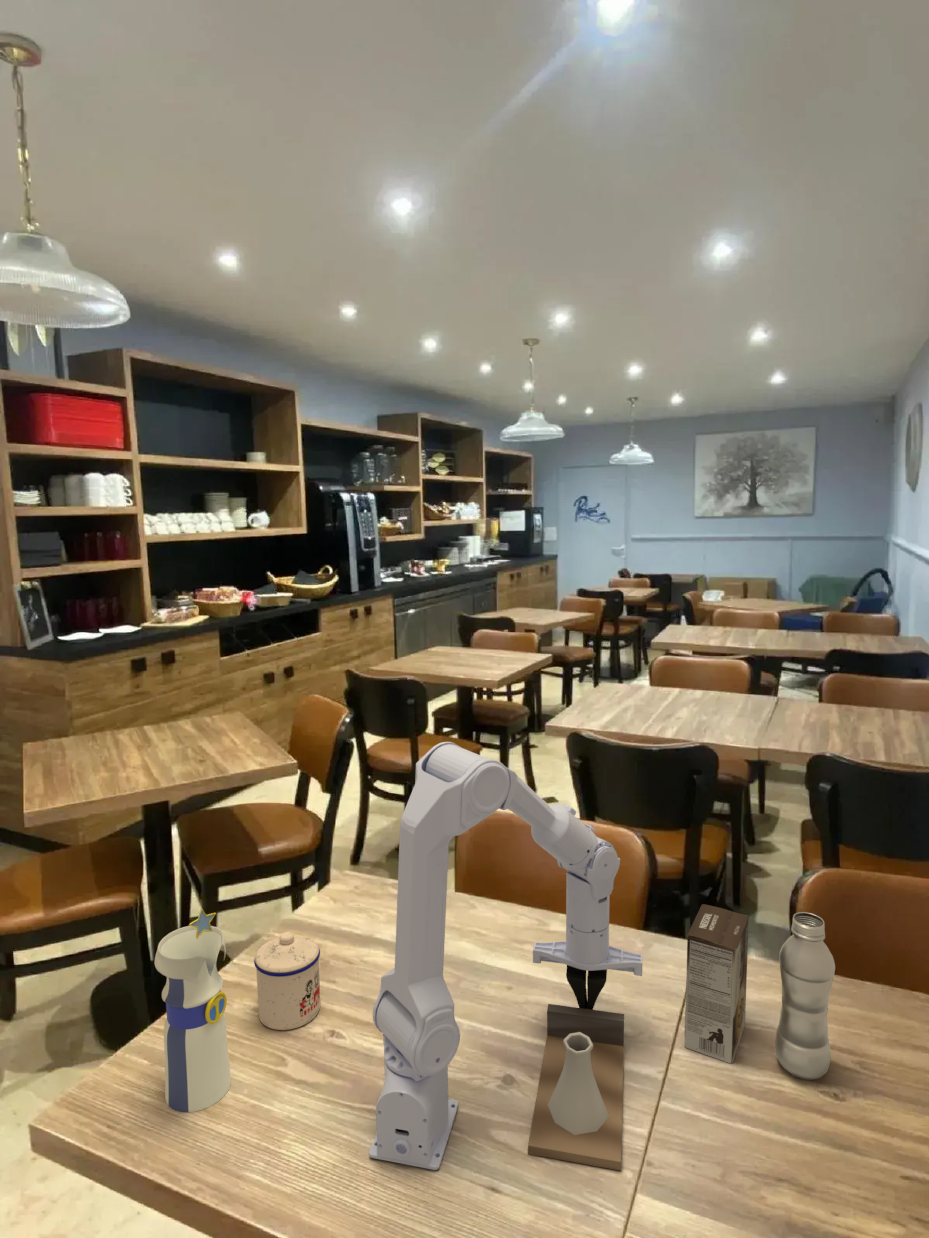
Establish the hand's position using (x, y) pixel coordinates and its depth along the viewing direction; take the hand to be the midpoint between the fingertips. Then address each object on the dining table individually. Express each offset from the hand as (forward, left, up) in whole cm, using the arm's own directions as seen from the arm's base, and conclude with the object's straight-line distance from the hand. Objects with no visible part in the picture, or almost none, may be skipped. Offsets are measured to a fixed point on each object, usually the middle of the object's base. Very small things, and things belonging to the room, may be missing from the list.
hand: (586, 1015), depth 100 cm
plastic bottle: (-1, -27, -2) cm, 27 cm away
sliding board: (-13, 0, -2) cm, 13 cm away
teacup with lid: (-3, +42, -2) cm, 42 cm away
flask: (-16, 0, -2) cm, 16 cm away
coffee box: (+3, -17, -2) cm, 17 cm away
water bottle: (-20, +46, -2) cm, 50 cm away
